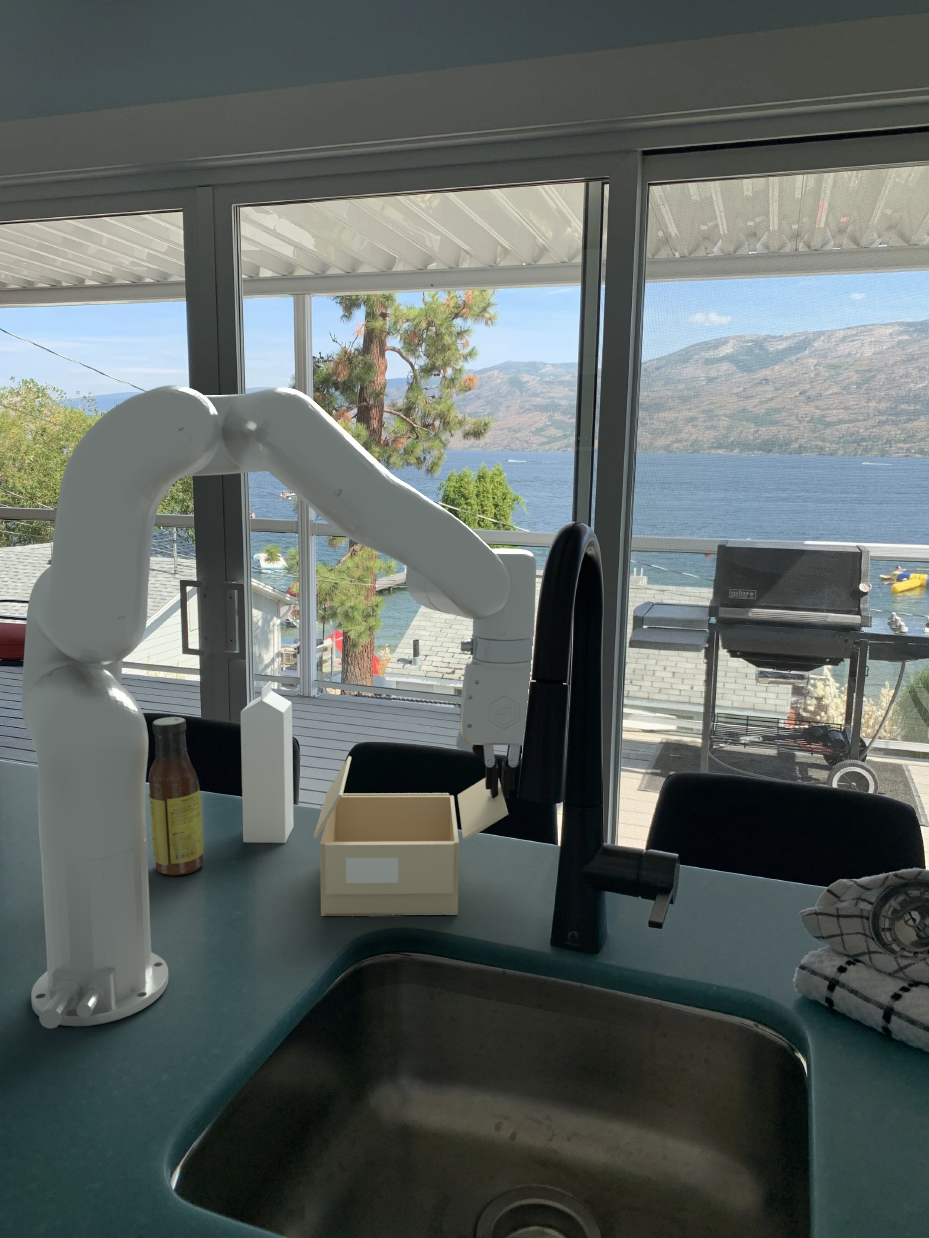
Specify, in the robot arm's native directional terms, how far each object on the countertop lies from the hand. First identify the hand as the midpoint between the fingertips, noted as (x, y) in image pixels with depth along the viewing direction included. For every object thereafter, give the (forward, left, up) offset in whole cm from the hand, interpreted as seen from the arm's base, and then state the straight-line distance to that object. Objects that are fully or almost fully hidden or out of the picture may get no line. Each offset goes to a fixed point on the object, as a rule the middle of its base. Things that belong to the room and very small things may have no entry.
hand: (499, 794), depth 113 cm
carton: (0, +13, -12) cm, 18 cm away
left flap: (0, +20, 0) cm, 20 cm away
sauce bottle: (+6, +41, -12) cm, 43 cm away
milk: (+17, +31, -12) cm, 38 cm away
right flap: (0, +2, -1) cm, 3 cm away
